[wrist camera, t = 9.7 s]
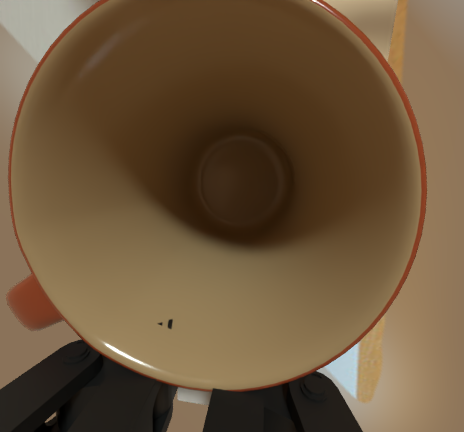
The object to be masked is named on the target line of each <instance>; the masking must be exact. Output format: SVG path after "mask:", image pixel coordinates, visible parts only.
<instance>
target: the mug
mask: <svg viewBox="0 0 464 432" xmlns="http://www.w3.org/2000/svg"><path fill="white" fill-rule="evenodd" d="M8 180H9V181H8V182H9V199H10V209H11V216H12V223H13V228H14V232H15V236H16V239H17V241H18V244H19V247H20V250H21V252H22V254H23V256H24V258H25V260H26V262H27V264H28V266H29V268H30V270H31V272H32V273H31V274H30V275H29V276H27V277H26V278H25V279H23V280H21V281H20V282H18V283H17V284H16V285H14V286H13V287H12V288H11V289H10V290H9V291H8V293H7V295H6V301H7V304H8V306H9V308H10V309H11V311H12V312H13V314H14V315H15V316H16V318H17V319H18V321H19V322H20V323H21V324H22V325H23V326H24V327H25V328H27V329H29V330H32V331H38V330H42V329H44V328H47V327H49V326H52V325H54V324H56V323H58V322H61V321H65V322H66V323H67V324H68V325H69V326H70V327H71V328H72V329H73V330H74V331H75V332H76V333H77V334H78V336H79V337H80V338H81V339H82V340H83V341H84V342H86V343H87V344H88V345H89V346H90V347H91V348H93V349H94V350H95V351H97V352H98V353H100V354H101V355H103V356H105V357H106V358H108V359H110V360H112V361H113V362H115V363H117V364H119V365H121V366H123V367H125V368H127V369H129V370H131V371H133V372H135V373H138V374H140V375H142V376H145V377H148V378H152V379H157V381H158V382H161V383H165V384H168V385H171V386H175V387H180V388H185V389H189V390H197V391H204V392H212V390H213V388H216V389H222V390H228V391H237V392H245V391H253V390H260V389H265V388H269V387H274V386H278V385H281V384H284V383H288V382H291V381H294V380H296V379H299V378H301V377H304V376H306V375H308V374H311V373H313V372H315V371H316V370H318V369H320V368H322V367H324V366H326V365H328V364H329V363H331V362H332V361H334V360H335V359H337V358H338V357H340V356H341V355H343V354H344V353H346V352H347V351H348V350H349V349H351V348H352V347H353V346H354V345H355V344H357V343H358V342H359V341H360V340H361V339H362V338H363V337H364V336H365V335H366V334H367V333H368V332H369V331H370V330H371V329H372V328H373V327H374V326H375V325H376V324H377V322H378V321H379V320H380V319H381V318H382V316H383V315H384V314H385V313H386V311H387V310H388V309H389V307H390V306H391V304H392V303H393V301H394V299H395V298H396V296H397V295H398V293H399V291H400V289H401V288H402V285H403V284H404V282H405V280H406V278H407V276H408V274H409V271H410V269H411V266H412V264H413V261H414V259H415V257H416V253H417V250H418V246H419V242H420V239H421V236H422V230H423V225H424V219H425V213H426V199H427V177H426V163H425V156H424V150H423V143H422V140H421V136H420V132H419V128H418V124H417V121H416V118H415V115H414V113H413V110H412V107H411V105H410V102H409V100H408V97H407V95H406V93H405V91H404V89H403V87H402V86H401V84H400V82H399V80H398V78H397V76H396V74H395V73H394V71H393V70H392V68H391V67H390V65H389V64H388V62H387V61H386V59H385V58H384V56H383V55H382V54H381V52H380V51H379V50H378V49H377V48H376V46H375V45H374V44H373V43H372V42H371V41H370V39H369V38H368V37H367V36H366V35H365V34H364V33H363V32H362V31H361V30H360V29H359V28H358V27H357V26H356V25H354V24H353V23H352V22H351V21H350V20H349V19H348V18H347V17H346V16H344V15H343V14H342V13H340V12H339V11H338V10H336V9H335V8H333V7H332V6H331V5H329V4H328V3H327V2H325V1H323V0H100V1H98V2H97V3H95V4H94V5H93V6H91V7H90V8H89V9H87V10H86V11H85V12H84V13H82V14H81V15H80V16H79V17H78V18H76V19H75V20H74V21H73V22H72V23H71V24H70V25H69V26H68V27H67V28H66V29H65V30H64V31H63V32H62V33H61V34H60V36H59V37H58V38H57V39H56V40H55V42H54V43H53V44H52V45H51V46H50V48H49V49H48V51H47V52H46V53H45V55H44V56H43V58H42V59H41V61H40V62H39V64H38V66H37V67H36V69H35V71H34V73H33V75H32V77H31V78H30V80H29V82H28V85H27V87H26V89H25V92H24V94H23V97H22V99H21V102H20V105H19V108H18V111H17V115H16V118H15V122H14V127H13V131H12V136H11V143H10V151H9V167H8ZM170 319H173V323H172V329H169V328H168V321H169V320H170ZM161 322H162V323H163V325H162V326H161V325H159V324H158V323H161Z"/></svg>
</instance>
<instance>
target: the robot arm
mask: <svg viewBox="0 0 464 432" xmlns="http://www.w3.org/2000/svg"><path fill="white" fill-rule="evenodd" d="M172 323H173V319H170V320H169V321H168V328H169V329H172ZM158 324H159V325H161V326H162V325H163V323H162V322H161V323H158ZM177 389H178V400H180V401H186V402H192V403H198V404H204V405H209V407H208V411H207V415H206V420H205V424H204V428H203V432H363V431H362V430H361V428H360V426H359V424H358V423H357V421H356V419H355V417H354V416H353V414H352V412H351V410H350V409H349V407H348V405H347V404H346V402H345V400H344V398H343V396H342V395H341V393H340V391H339V389H338V388H337V387H336V386H335V384H334V383H333V382H332V380H331V379H329V378H328V377H326V376H325V375H324V374H322V373H319V372H317V371H315V372H313V373H311V374H308V375H306V376H304V377H301V378H299V379H296V380H294V381H291V382H288V383H284V384H281V385H278V386H274V387H269V388H265V389H260V390H253V391H245V392H237V391H228V390H222V389H216V388H213V390H212V392H204V391H197V390H189V389H185V388H180V387H175V386H171V385H168V384H165V383H161V382H158V381H157V379H152V378H148V377H145V376H142V375H140V374H138V373H135V372H133V371H131V370H129V369H127V368H125V367H123V366H121V365H119V364H117V363H115V362H113V361H112V360H110V359H108V358H106V357H105V356H103V355H101V354H100V353H98V352H97V351H95V350H94V349H93V348H91V347H90V346H89V345H88V344H87V343H86V342H84V341H83V340H78V341H75V342H71V343H69V344H67V345H65V346H63V347H62V348H60V349H59V350H57V351H56V352H54V353H53V354H52V355H50V356H48V357H47V358H45V359H44V360H42V361H41V362H40V363H38V364H37V365H35V366H34V367H32V368H31V369H29V370H28V371H27V372H25V373H24V374H22V375H21V376H19V377H18V378H16V379H15V380H13V381H12V382H11V383H9V384H8V385H6V386H5V387H3V388H2V389H0V432H166V431H167V428H168V426H169V423H170V420H171V417H172V412H173V399H174V396H175V394H176V391H177ZM55 412H56V416H55V417H54V418H53V419H52V420H50V421H48V422H47V423H45V421H46V420H47V419H48V418H49V417H50V416H51V415H52V414H54V413H55Z"/></svg>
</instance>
